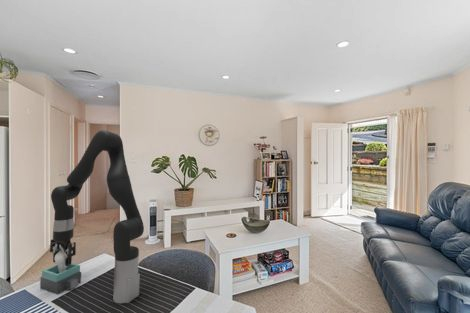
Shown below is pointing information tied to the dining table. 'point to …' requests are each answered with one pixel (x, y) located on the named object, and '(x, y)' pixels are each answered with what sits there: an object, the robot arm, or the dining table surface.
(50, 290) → the teal and grey box
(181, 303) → the dining table surface
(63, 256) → the lightbulb
